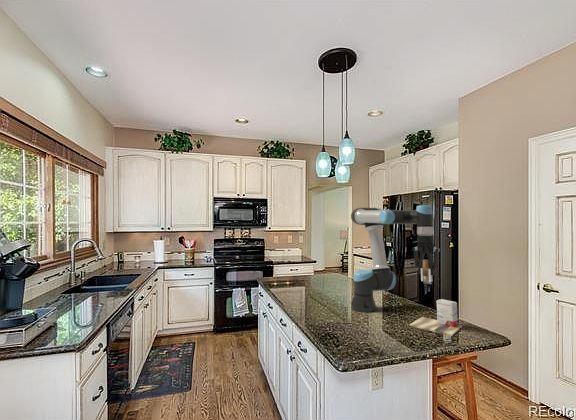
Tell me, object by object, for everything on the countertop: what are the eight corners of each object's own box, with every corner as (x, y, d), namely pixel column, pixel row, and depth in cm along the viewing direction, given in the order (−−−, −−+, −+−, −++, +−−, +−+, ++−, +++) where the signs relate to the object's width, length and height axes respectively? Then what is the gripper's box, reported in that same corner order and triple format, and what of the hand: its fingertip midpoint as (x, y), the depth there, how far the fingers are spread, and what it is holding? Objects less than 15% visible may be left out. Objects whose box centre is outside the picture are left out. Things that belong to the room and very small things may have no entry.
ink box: (458, 325, 155) (458, 302, 155) (453, 327, 152) (452, 303, 152) (441, 320, 162) (441, 298, 162) (436, 322, 159) (436, 299, 159)
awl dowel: (422, 283, 154) (421, 259, 155) (424, 282, 156) (423, 259, 157) (428, 284, 151) (427, 260, 152) (431, 283, 154) (430, 259, 155)
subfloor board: (409, 325, 156) (409, 324, 156) (422, 318, 169) (422, 316, 169) (452, 336, 142) (451, 334, 142) (462, 327, 155) (462, 325, 155)
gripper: (406, 235, 159) (408, 280, 157) (439, 235, 147) (441, 284, 145) (412, 234, 164) (414, 278, 162) (444, 235, 152) (446, 282, 151)
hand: (426, 281), depth 154 cm, fingers closed on awl dowel, 3 cm apart
